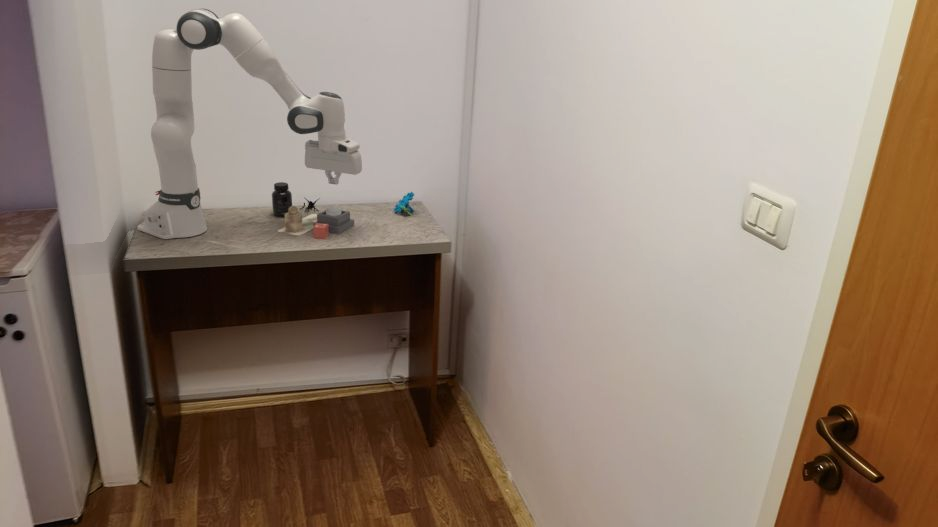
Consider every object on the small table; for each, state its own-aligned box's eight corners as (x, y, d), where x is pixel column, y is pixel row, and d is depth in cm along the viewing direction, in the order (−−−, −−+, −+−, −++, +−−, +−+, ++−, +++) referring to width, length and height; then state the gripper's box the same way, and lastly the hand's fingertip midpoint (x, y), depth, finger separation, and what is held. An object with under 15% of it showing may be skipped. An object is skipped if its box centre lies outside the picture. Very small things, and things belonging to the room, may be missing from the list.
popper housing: (313, 231, 242) (312, 214, 240) (329, 222, 251) (328, 206, 249) (338, 236, 239) (338, 219, 237) (354, 227, 248) (353, 211, 245)
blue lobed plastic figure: (393, 202, 270) (412, 186, 267) (404, 213, 273) (423, 197, 269) (391, 215, 261) (410, 199, 258) (402, 226, 263) (422, 210, 260)
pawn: (285, 231, 239) (284, 206, 236) (292, 227, 243) (291, 203, 239) (295, 233, 238) (294, 208, 235) (302, 229, 241) (301, 205, 238)
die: (313, 238, 235) (313, 226, 233) (317, 234, 238) (316, 222, 237) (325, 239, 234) (324, 227, 233) (328, 235, 238) (328, 223, 236)
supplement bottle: (271, 214, 257) (269, 181, 252) (290, 212, 259) (289, 180, 255) (274, 220, 251) (272, 187, 246) (294, 218, 253) (292, 186, 249)
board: (275, 233, 239) (275, 230, 239) (310, 215, 257) (310, 213, 257) (326, 243, 233) (326, 241, 232) (359, 224, 251) (359, 222, 250)
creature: (316, 219, 257) (323, 208, 264) (315, 206, 254) (321, 195, 261) (295, 217, 258) (302, 206, 265) (293, 204, 255) (301, 193, 262)
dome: (323, 218, 242) (322, 205, 240) (331, 214, 246) (330, 201, 245) (336, 221, 240) (335, 207, 238) (344, 217, 245) (344, 203, 243)
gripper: (299, 141, 234) (301, 181, 240) (353, 148, 227) (355, 190, 233) (310, 137, 240) (312, 177, 245) (363, 144, 233) (364, 185, 238)
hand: (333, 183), depth 239 cm, fingers closed
